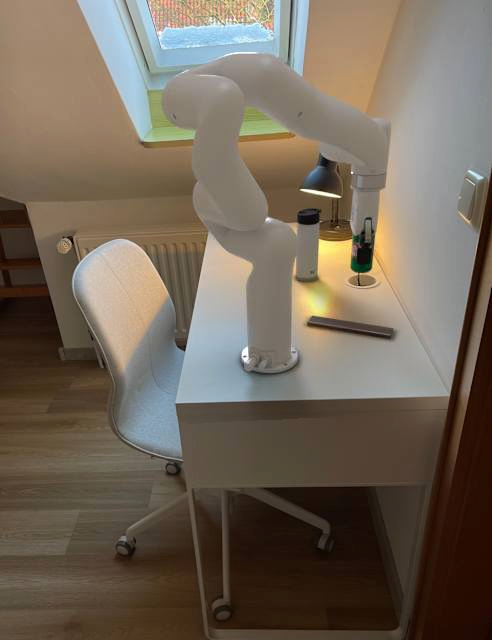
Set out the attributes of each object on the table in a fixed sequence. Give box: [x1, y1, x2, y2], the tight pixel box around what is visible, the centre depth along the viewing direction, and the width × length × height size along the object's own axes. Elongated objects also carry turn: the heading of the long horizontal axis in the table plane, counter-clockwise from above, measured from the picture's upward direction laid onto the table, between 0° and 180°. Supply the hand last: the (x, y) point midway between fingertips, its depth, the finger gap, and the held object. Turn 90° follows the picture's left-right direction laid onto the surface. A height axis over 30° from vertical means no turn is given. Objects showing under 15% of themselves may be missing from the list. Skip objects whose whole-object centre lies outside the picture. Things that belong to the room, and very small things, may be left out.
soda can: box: [349, 229, 376, 274], centre depth 127 cm, size 5×5×12 cm
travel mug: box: [295, 207, 322, 283], centre depth 154 cm, size 6×7×20 cm
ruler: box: [306, 315, 394, 340], centre depth 132 cm, size 4×20×1 cm, turn 65°
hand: (361, 258), depth 128 cm, fingers closed on soda can, 5 cm apart
